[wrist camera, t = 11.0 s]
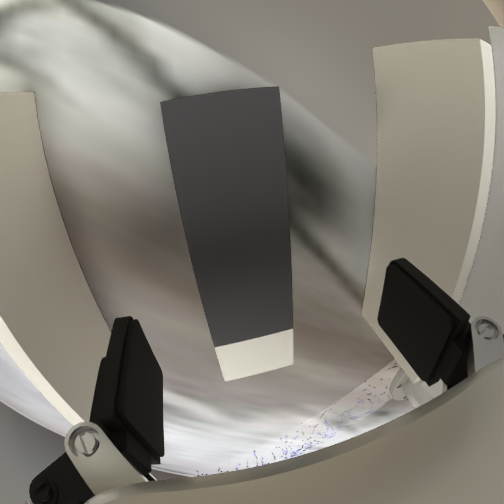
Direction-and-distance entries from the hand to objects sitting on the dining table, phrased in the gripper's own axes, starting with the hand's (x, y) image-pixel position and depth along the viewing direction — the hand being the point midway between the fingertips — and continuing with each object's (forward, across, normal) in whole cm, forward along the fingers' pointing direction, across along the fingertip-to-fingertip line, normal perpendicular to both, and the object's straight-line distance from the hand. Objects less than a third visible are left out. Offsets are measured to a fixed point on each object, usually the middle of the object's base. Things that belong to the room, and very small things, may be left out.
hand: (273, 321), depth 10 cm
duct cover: (0, -10, -1) cm, 10 cm away
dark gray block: (+8, +1, -1) cm, 8 cm away
